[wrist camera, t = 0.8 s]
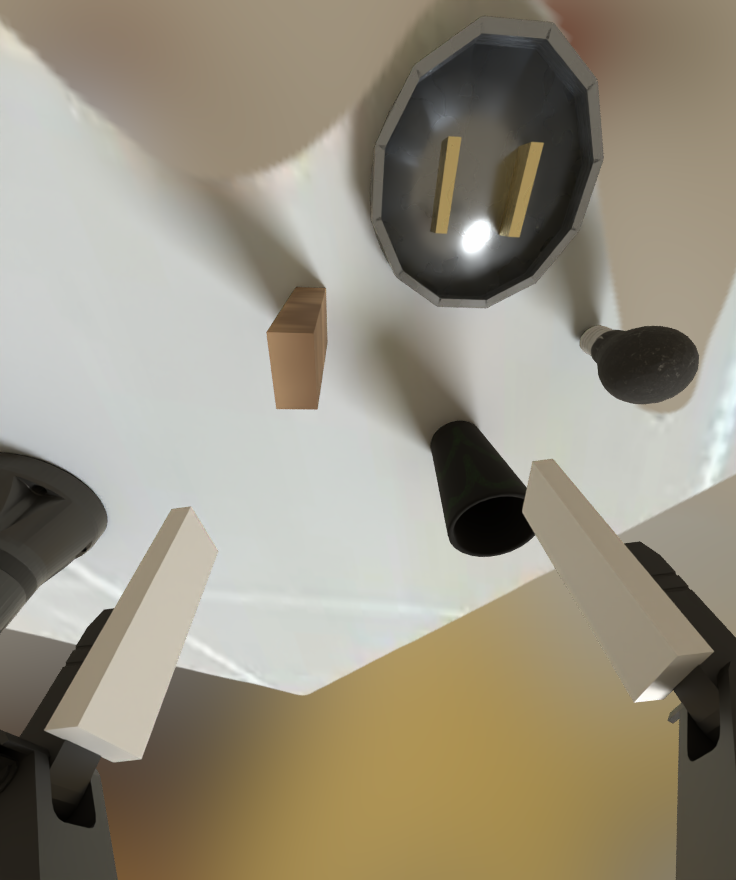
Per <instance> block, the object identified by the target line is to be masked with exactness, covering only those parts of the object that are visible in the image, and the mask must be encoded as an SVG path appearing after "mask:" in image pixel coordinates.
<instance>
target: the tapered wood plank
mask: <svg viewBox="0 0 736 880" xmlns="http://www.w3.org/2000/svg"><path fill="white" fill-rule="evenodd" d="M266 333H267V340H268V348H269V356H270V363H271V371H272V379H273V386H274V394H275V402H276V409H318V402H319V396H320V389H321V382H322V375H323V369H324V362H325V355H326V349H327V310H326V288H309V287H296V288H295V289H294V291H293V292H292V294H291V295H290V297H289V299H288V300H287V302H286V303H285V305H284V306H283V308H282V309H281V311H280V312H279V314H278V315H277V317H276V318H275V320H274V321H273V323H272V324H271V326H270V328H269V329H268V331H267V332H266Z"/></svg>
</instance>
